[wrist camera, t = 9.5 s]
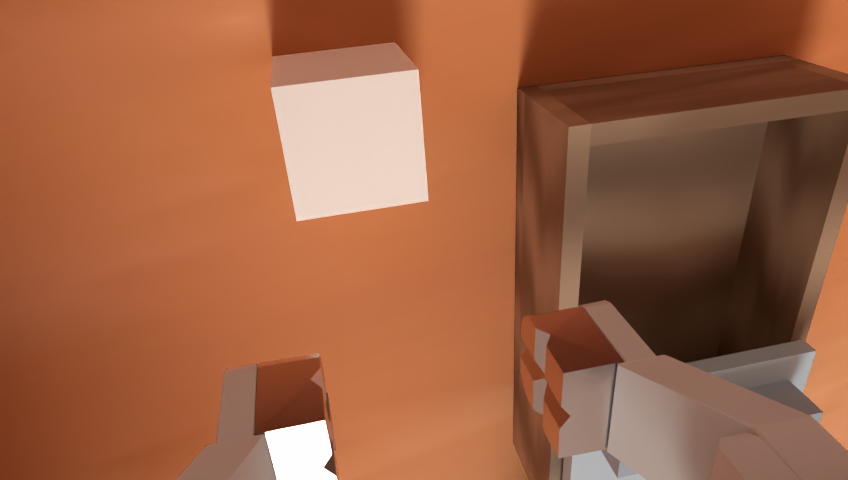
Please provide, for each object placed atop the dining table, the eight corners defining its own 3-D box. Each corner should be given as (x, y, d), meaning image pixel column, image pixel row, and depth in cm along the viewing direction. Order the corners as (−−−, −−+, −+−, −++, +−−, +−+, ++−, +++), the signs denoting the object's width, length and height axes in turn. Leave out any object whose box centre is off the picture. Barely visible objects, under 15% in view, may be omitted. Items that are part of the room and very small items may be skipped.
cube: (405, 155, 25) (428, 201, 21) (293, 171, 24) (296, 221, 20) (394, 41, 23) (418, 69, 19) (272, 56, 22) (270, 87, 18)
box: (517, 88, 25) (568, 126, 20) (784, 55, 26) (883, 84, 22) (513, 442, 34) (547, 520, 30) (708, 401, 36) (766, 468, 32)
